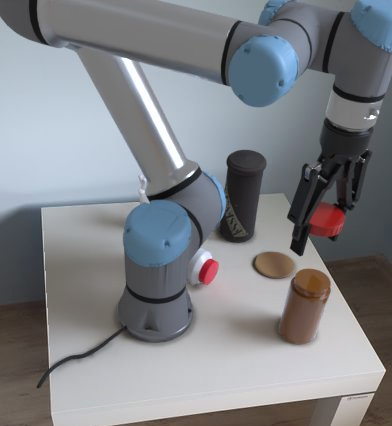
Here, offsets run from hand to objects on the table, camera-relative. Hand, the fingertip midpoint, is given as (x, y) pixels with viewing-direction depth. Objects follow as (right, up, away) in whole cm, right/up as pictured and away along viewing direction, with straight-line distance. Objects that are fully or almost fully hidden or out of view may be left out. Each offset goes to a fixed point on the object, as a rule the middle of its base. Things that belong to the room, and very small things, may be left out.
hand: (313, 244), depth 96 cm
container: (-12, +9, +32) cm, 36 cm away
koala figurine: (-33, +11, +31) cm, 47 cm away
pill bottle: (-27, +2, +19) cm, 34 cm away
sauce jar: (-1, -15, +11) cm, 19 cm away
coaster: (-3, 0, +25) cm, 25 cm away
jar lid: (0, +4, -5) cm, 6 cm away
